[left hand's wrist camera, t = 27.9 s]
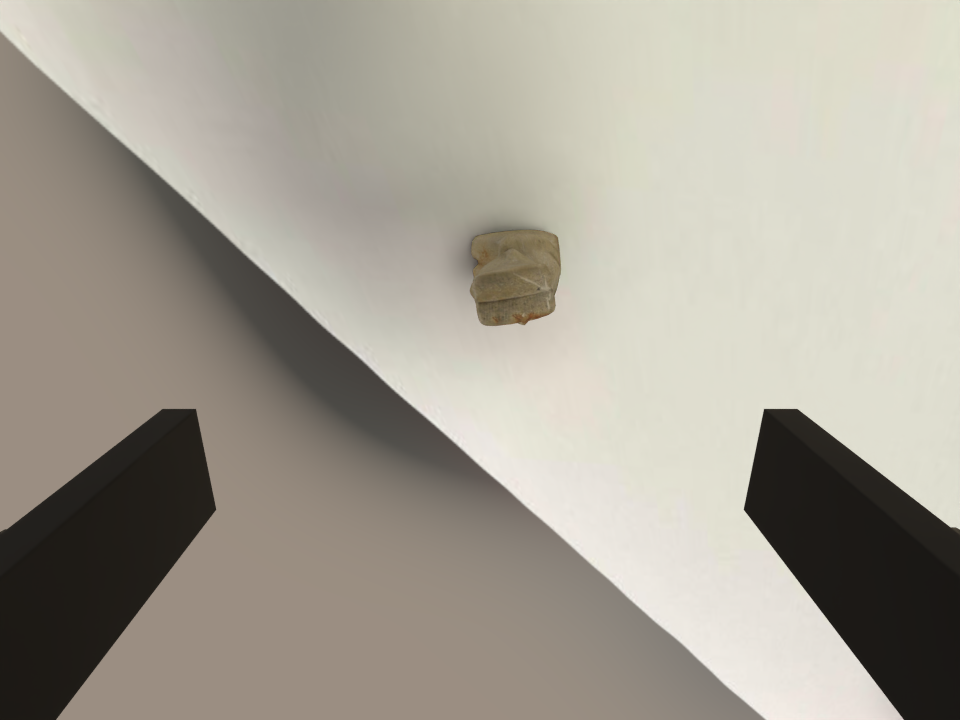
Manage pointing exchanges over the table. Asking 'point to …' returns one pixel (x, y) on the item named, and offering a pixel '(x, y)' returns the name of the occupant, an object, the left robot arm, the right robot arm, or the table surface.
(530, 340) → the table surface
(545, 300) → the sculpture
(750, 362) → the table surface
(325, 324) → the table surface
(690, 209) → the table surface
